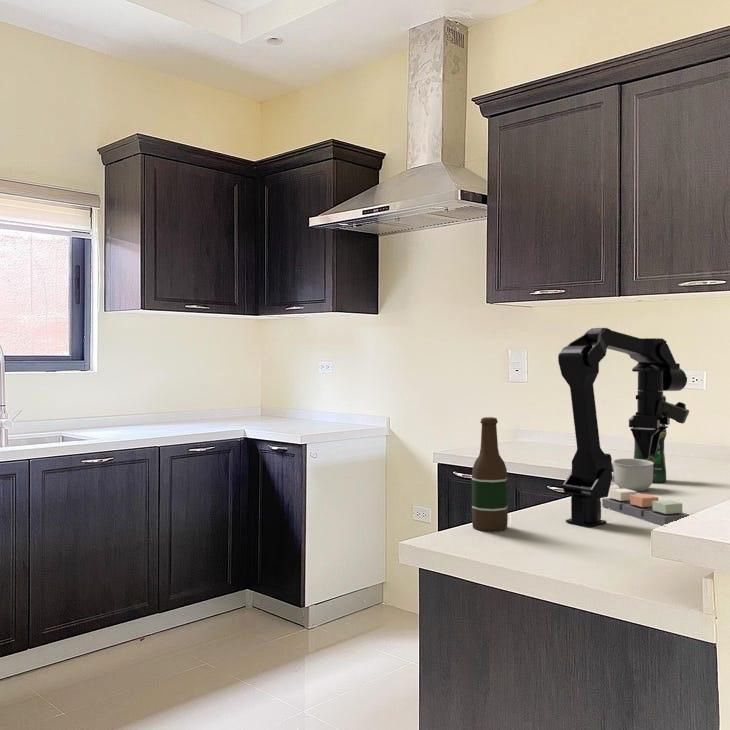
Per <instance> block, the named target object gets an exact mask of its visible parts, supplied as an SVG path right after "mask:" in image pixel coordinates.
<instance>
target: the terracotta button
mask: <svg viewBox="0 0 730 730" xmlns="http://www.w3.org/2000/svg"><path fill="white" fill-rule="evenodd" d="M652 501H659V497H658V496H655V495H652V494H647V493H642V494H637V495H630V504H633V505H637V506H640V507H650V506H652Z"/></svg>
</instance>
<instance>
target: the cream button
mask: <svg viewBox="0 0 730 730" xmlns="http://www.w3.org/2000/svg"><path fill="white" fill-rule="evenodd" d="M630 495H638V494H637V491H633V490H629V489H621V488H613V489H609V498H613V499H616V500H620V501H626V500H630Z"/></svg>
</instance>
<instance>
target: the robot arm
mask: <svg viewBox="0 0 730 730" xmlns="http://www.w3.org/2000/svg"><path fill="white" fill-rule="evenodd" d="M607 349H608V350H611V351H616V352H619V353H623V354H627V356H628V355H629V358H630V359H632V360H634V361H635V362H637V364H636V365H634V366H633V368H632V369H631V371H632V372H635V373H636V372H637V394H635V400H637V407H636V408H637V409H636V410H637V411H636V412H635V414H634V415H632V416H631V417H630V418H629V419H628V428H630V431H631V433H633V434H632V436H633V435H634V437H633V439H634V438H635V440H636V442H637V444H638V446H639V449H640V451H641V454H642V456H643V458H649V453H650V454H651V455H655V454H656V451H657V447H658V443H659V439H660V435H661V433H662V432H663V431H664V430H665V429H666V430H667V428H669V425H670V420H674V421H675V422H677V423H679V424H685V423H686V421H687V418H688V416H689V413H690V410H689V409H687V407H686V406H687V405H686V404H685V403H684V402H681V401H679V402H676V403H675V404H673V403H670V402H668V401H667V397H666V395H664V392H680V391H682V390H684V388H685V387H686V385H687V382H688V376H687V374H686V373H685V371H684V370H683V369H681V365H680V363H677V362H676V360H675V358H674V355H673V354H672V351H671V349H670V346H669V345H668V344H667V340H666V339H664V338H660V337H659V338H657V337H655V338H647V337H646V338H644V337H643V338H640V337H637V336H633V335H629V334H625V333H623V332H619V331H615V330H612V329H610V328H608V327H597V328H596V327H595V328H590V329H588V330H587V331H586V332H585V333H584V334H583V335H581V336H580V337H578V338H576V339H575V340H573V341H571V342H570V343H569V344H568V345H567V346H564V347H562V349H561V351H560V352H559V353H558V357H557V358H558V359H557V361H558V365H559V370H560V374H561V376H562V378H563V380H564V381H565V382H566V383H567V385H568V386H569V389H570V390H569V391H570V400H571V407H572V415H573V425H574V430H575V431H574V433H575V444H576V451H575V453H574V455H573V458H572V460H571V471H570V472H569V474H568V476H567V477H566V479H565V480H564V483H563V484H562V489H563V493H564V494H566V495H571V496H570V499H571V500H570V504H571V505H570V507H571V508H570V509H571V510H570V511H571V515H570V516H571V517H570V518H567V519H565V523H568V524H569V523H570V524H573V525H578V526H584V527H588V528H590V527H595V526H599V525H604V524H607V520H604V519H602V500H601V499H605V498H609V495H610V488H611V484H612V476H613V472H614V471H613V468H612V463H613V460H612V455H611V454H610V453H604V451H603V449H602V448H601V442H600V433H599V424H598V417H597V407H596V397H595V390H594V389H595V388H594V383H595V382H596V379H597V377H598V376H599V372H600V362H601V361H602V360H603V359H604V358H605V356H607V351H608V350H607ZM662 424H665V426H662ZM635 440H634V441H635Z"/></svg>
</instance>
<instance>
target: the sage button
mask: <svg viewBox="0 0 730 730" xmlns="http://www.w3.org/2000/svg"><path fill="white" fill-rule="evenodd" d="M652 510H654V511H657V512H661V513H664V514H670V513H683V503H681V502H679V501H674V500H670V499H666V500H665V499H664V500H663V499H662V500H658V501H652Z"/></svg>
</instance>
